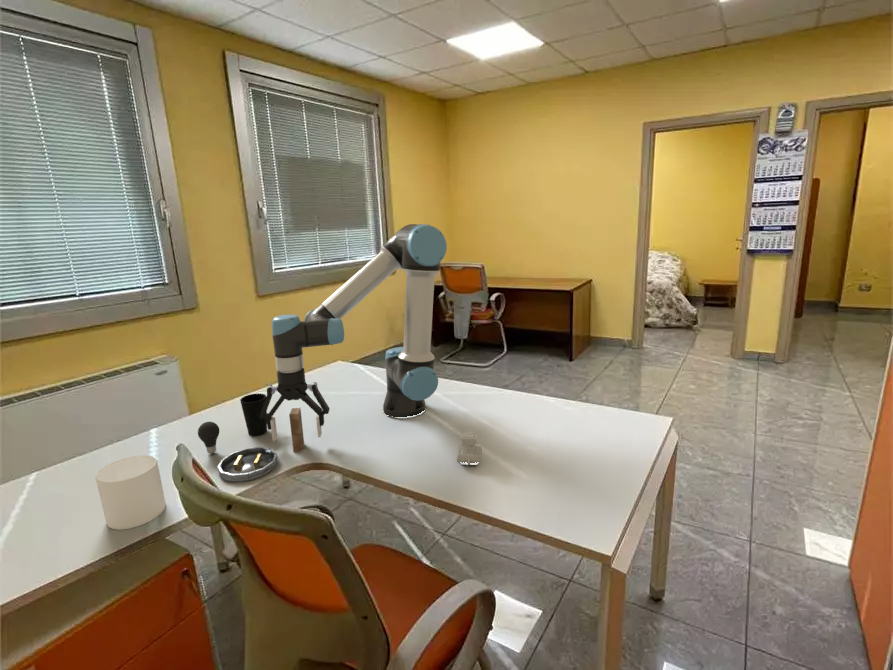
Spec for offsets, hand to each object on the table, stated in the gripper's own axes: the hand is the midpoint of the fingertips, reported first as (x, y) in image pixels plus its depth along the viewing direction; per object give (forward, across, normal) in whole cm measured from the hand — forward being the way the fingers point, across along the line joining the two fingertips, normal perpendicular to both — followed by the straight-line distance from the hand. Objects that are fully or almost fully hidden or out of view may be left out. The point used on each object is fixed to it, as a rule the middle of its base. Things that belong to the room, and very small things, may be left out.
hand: (297, 437), depth 136 cm
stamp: (+4, -49, +17) cm, 52 cm away
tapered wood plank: (+4, 0, 0) cm, 4 cm away
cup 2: (+4, +15, -13) cm, 20 cm away
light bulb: (+4, +25, -1) cm, 25 cm away
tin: (+4, +12, +9) cm, 15 cm away
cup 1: (+4, +33, +26) cm, 42 cm away
